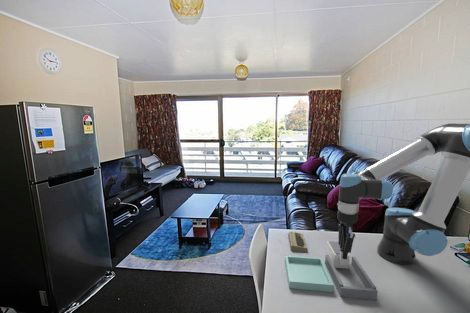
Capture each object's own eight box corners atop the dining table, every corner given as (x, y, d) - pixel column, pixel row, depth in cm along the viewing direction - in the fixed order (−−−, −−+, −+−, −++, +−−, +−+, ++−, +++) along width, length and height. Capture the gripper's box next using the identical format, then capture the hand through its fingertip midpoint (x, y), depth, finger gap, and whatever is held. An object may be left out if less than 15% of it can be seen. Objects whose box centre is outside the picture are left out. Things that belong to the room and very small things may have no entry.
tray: (321, 264, 107) (321, 258, 106) (333, 292, 89) (333, 285, 89) (284, 261, 108) (285, 255, 108) (289, 288, 91) (289, 281, 90)
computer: (307, 252, 117) (307, 246, 116) (290, 251, 118) (290, 244, 118) (303, 237, 132) (303, 231, 132) (288, 236, 133) (288, 230, 133)
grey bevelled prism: (339, 253, 116) (340, 241, 115) (348, 268, 104) (349, 254, 103) (326, 252, 116) (327, 240, 115) (333, 267, 104) (335, 254, 103)
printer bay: (354, 265, 106) (354, 256, 106) (376, 300, 85) (377, 289, 85) (325, 263, 108) (325, 254, 107) (340, 296, 87) (341, 286, 86)
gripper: (333, 205, 106) (329, 255, 109) (343, 216, 93) (338, 273, 96) (351, 206, 105) (346, 256, 108) (363, 218, 92) (358, 274, 96)
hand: (342, 264), depth 102 cm, fingers closed
